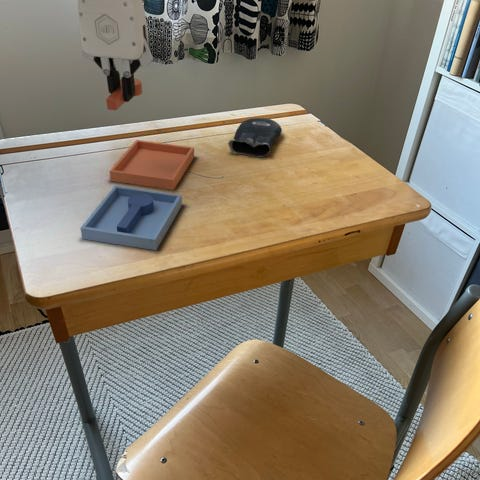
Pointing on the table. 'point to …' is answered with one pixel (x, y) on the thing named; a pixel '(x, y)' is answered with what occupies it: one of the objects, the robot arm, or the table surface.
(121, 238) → the blue tray
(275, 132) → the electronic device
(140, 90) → the spoon terracotta
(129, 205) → the dark blue paddle
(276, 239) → the table surface
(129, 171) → the terracotta tray
